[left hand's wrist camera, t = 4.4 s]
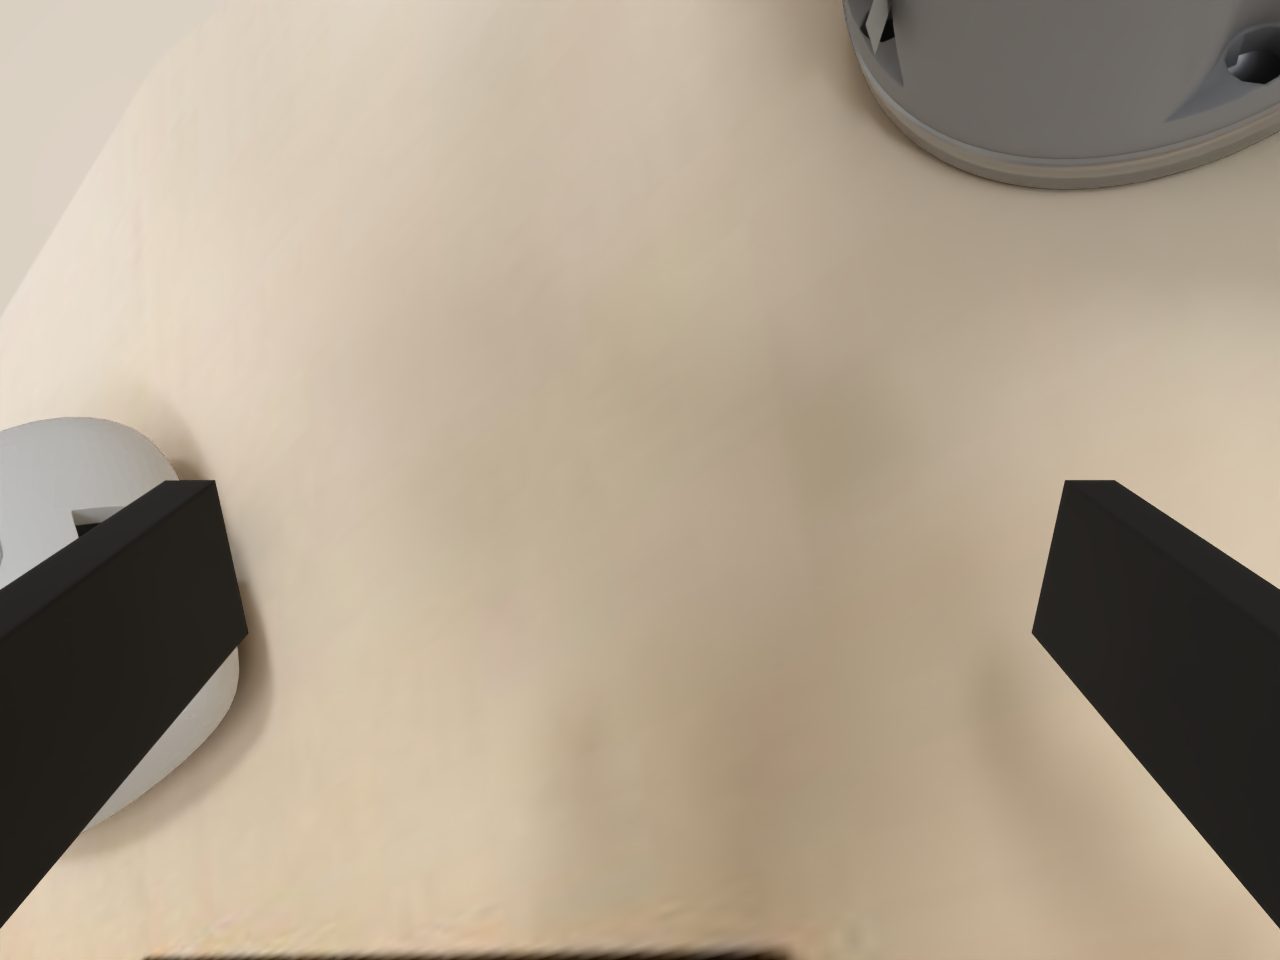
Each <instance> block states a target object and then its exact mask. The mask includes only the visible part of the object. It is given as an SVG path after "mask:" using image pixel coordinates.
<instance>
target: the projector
mask: <svg viewBox="0 0 1280 960" xmlns="http://www.w3.org/2000/svg"><path fill="white" fill-rule="evenodd" d="M165 480H179V478H178V476H177V474H176V472H175V470H174V469H173V467H172V466H171V464H170V463H169V461H168V460H167V458H166V457H165V456H164V454H163V453H162V452H161V451H160V450H159V449H158V447H157V446H156V445H155V444H154V443H153V442H152V441H151V440H149V439H148V438H147V437H146V436H144V435H143V434H141V433H140V432H138V431H136V430H134V429H132V428H130V427H128V426H125V425H123V424H120V423H117V422H113V421H109V420H105V419H98V418H90V417H63V418H55V419H48V420H40V421H35V422H30V423H26V424H23V425H19V426H16V427H12V428H9V429H6V430H3V431H1V432H0V589H2V588H3V587H5V586H6V585H8V584H10V583H11V582H13V581H14V580H16V579H17V578H19V577H20V576H22V575H23V574H25V573H26V572H28V571H29V570H31V569H32V568H34V567H35V566H37V565H38V564H40V563H41V562H43V561H44V560H46V559H47V558H49V557H50V556H52V555H53V554H55V553H56V552H58V551H59V550H61V549H62V548H64V547H65V546H67V545H68V544H70V543H71V542H73V541H74V540H76V539H77V538H79V537H80V536H82V535H83V534H85V533H87V532H88V531H90V530H91V529H93V528H94V527H96V526H97V525H99V524H100V523H102V522H103V521H105V520H106V519H108V518H109V517H111V516H112V515H114V514H115V513H117V512H118V511H120V510H121V509H123V508H124V507H126V506H127V505H129V504H130V503H132V502H133V501H135V500H136V499H138V498H139V497H141V496H142V495H144V494H145V493H147V492H148V491H150V490H151V489H153V488H154V487H156V486H157V485H159V484H161V483H162V482H164V481H165ZM238 679H239V659H238V648H237V647H236V648H235V649H234V651H233V652H232V653H231V654H230V655H229V657H228V658H227V659H226V660H225V661H224V663H223V664H222V665H221V666H220V667H219V669H218V670H217V671H216V672H215V673H214V674H213V676H212V677H211V678H210V679H209V680H208V682H207V683H206V684H205V685H204V686H203V688H202V689H201V690H200V691H199V692H198V694H197V695H196V696H195V697H194V698H193V700H192V701H191V702H190V703H189V704H188V705H187V707H186V708H185V709H184V710H183V711H182V713H181V714H180V715H179V716H178V717H177V719H176V720H175V721H174V722H173V723H172V725H171V726H170V727H169V728H168V729H167V731H166V732H165V733H164V734H163V735H162V736H161V738H160V739H159V740H158V741H157V742H156V744H155V745H154V746H153V747H152V748H151V750H150V751H149V752H148V753H147V754H146V756H145V757H144V758H143V759H142V760H141V762H140V763H139V764H138V765H137V766H136V767H135V769H134V770H133V771H132V772H131V773H130V775H129V776H128V777H127V778H126V779H125V781H124V782H123V783H122V784H121V785H120V787H119V788H118V789H117V790H116V791H115V793H114V794H113V795H112V796H111V797H110V798H109V800H108V801H107V802H106V803H105V804H104V806H103V807H102V808H101V809H100V810H99V812H98V813H97V814H96V815H95V816H94V818H93V819H92V820H91V821H90V822H89V824H88V825H87V826H86V827H85V828H84V829H83V831H82V832H81V833H83V832H85V831H87V830H88V829H90V828H92V827H94V826H96V825H97V824H99V823H101V822H103V821H104V820H106V819H107V818H109V817H111V816H112V815H114V814H116V813H117V812H119V811H120V810H122V809H123V808H124V807H126V806H127V805H129V804H130V803H132V802H133V801H134V800H136V799H137V798H139V797H140V796H141V795H143V794H144V793H145V792H147V791H148V790H149V789H151V788H152V787H153V786H154V785H156V784H157V783H158V782H160V781H161V780H162V779H163V778H165V777H166V776H167V775H168V774H169V773H171V772H172V771H173V770H174V769H175V768H176V767H178V766H179V765H180V764H181V763H182V762H184V761H185V760H186V759H187V758H188V757H189V756H190V755H191V754H192V753H193V752H194V751H195V750H196V749H197V748H198V747H199V746H200V745H201V744H202V743H203V742H204V741H205V740H206V739H207V738H208V737H209V736H210V734H211V733H212V732H213V731H214V730H215V729H216V728H217V726H218V725H219V723H220V722H221V721H222V719H223V718H224V716H225V715H226V713H227V712H228V710H229V708H230V706H231V704H232V701H233V699H234V696H235V693H236V689H237V684H238ZM81 833H80V834H81Z"/></svg>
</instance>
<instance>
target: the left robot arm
mask: <svg viewBox="0 0 1280 960" xmlns="http://www.w3.org/2000/svg"><path fill="white" fill-rule="evenodd" d="M843 7H844V13H845V19H846V23H847V27H848V30H849V34H850V37H851V41H852V44H853V46H854V49H855V52H856V55H857V58H858V61H859V64H860V67H861V70H862V72H863V74H864V77H865V79H866V82H867V84H868V86H869V89H870V90H871V92H872V94H873V95H874V97H875V99H876V101H877V102H878V104H879V106H880V107H881V108H882V109H883V111H884V112H885V113H886V115H887V116H888V117H889V119H890V120H891V121H892V122H893V123H894V124H895V125H896V126H897V127H898V128H899V129H900V130H901V131H902V132H903V133H904V134H905V135H906V136H907V137H908V138H909V139H911V140H912V141H913V142H915V143H916V144H917V145H918V146H920V147H921V148H922V149H924V150H925V151H927V152H929V153H930V154H932V155H933V156H935V157H937V158H938V159H940V160H942V161H944V162H946V163H948V164H950V165H952V166H954V167H957V168H959V169H961V170H963V171H966V172H969V173H972V174H975V175H978V176H981V177H984V178H987V179H991V180H995V181H1000V182H1004V183H1008V184H1014V185H1021V186H1029V187H1036V188H1054V189H1081V188H1100V187H1108V186H1117V185H1125V184H1131V183H1136V182H1141V181H1146V180H1151V179H1156V178H1161V177H1164V176H1168V175H1172V174H1175V173H1179V172H1182V171H1186V170H1189V169H1193V168H1196V167H1198V166H1201V165H1204V164H1207V163H1210V162H1212V161H1215V160H1218V159H1221V158H1223V157H1226V156H1228V155H1231V154H1233V153H1235V152H1237V151H1240V150H1242V149H1244V148H1246V147H1249V146H1251V145H1253V144H1255V143H1258V142H1260V141H1261V140H1263V139H1265V138H1267V137H1269V136H1271V135H1273V134H1275V133H1276V132H1278V131H1280V0H843ZM247 634H248V629H247V625H246V620H245V616H244V611H243V607H242V602H241V597H240V593H239V588H238V584H237V579H236V574H235V570H234V565H233V561H232V556H231V552H230V547H229V542H228V538H227V533H226V529H225V524H224V520H223V515H222V510H221V506H220V501H219V497H218V492H217V487H216V483H215V480H165V481H164V482H162V483H161V484H159V485H157V486H156V487H154V488H153V489H151V490H150V491H148V492H147V493H145V494H144V495H142V496H141V497H139V498H138V499H136V500H135V501H133V502H132V503H130V504H129V505H127V506H126V507H124V508H123V509H121V510H120V511H118V512H117V513H115V514H114V515H112V516H111V517H109V518H108V519H106V520H105V521H103V522H102V523H100V524H99V525H97V526H96V527H94V528H93V529H91V530H90V531H88V532H87V533H85V534H83V535H82V536H80V537H79V538H77V539H76V540H74V541H73V542H71V543H70V544H68V545H67V546H65V547H64V548H62V549H61V550H59V551H58V552H56V553H55V554H53V555H52V556H50V557H49V558H47V559H46V560H44V561H43V562H41V563H40V564H38V565H37V566H35V567H34V568H32V569H31V570H29V571H28V572H26V573H25V574H23V575H22V576H20V577H19V578H17V579H16V580H14V581H13V582H11V583H10V584H8V585H6V586H5V587H3V588H2V589H0V928H1V927H2V926H3V925H4V924H5V922H6V921H7V920H8V919H9V918H10V916H11V915H12V914H13V913H14V912H15V911H16V909H17V908H18V907H19V906H20V905H21V903H22V902H23V901H24V900H25V899H26V897H27V896H28V895H29V894H30V893H31V891H32V890H33V889H34V888H35V887H36V885H37V884H38V883H39V882H40V881H41V880H42V878H43V877H44V876H45V875H46V874H47V872H48V871H49V870H50V869H51V868H52V866H53V865H54V864H55V863H56V862H57V860H58V859H59V858H60V857H61V856H62V854H63V853H64V852H65V851H66V850H67V849H68V847H69V846H70V845H71V844H72V843H73V841H74V840H75V839H76V838H77V837H78V835H79V834H80V833H81V832H82V831H83V829H84V828H85V827H86V826H87V825H88V824H89V822H90V821H91V820H92V819H93V818H94V816H95V815H96V814H97V813H98V812H99V810H100V809H101V808H102V807H103V806H104V804H105V803H106V802H107V801H108V800H109V798H110V797H111V796H112V795H113V794H114V793H115V791H116V790H117V789H118V788H119V787H120V785H121V784H122V783H123V782H124V781H125V779H126V778H127V777H128V776H129V775H130V773H131V772H132V771H133V770H134V769H135V767H136V766H137V765H138V764H139V763H140V762H141V760H142V759H143V758H144V757H145V756H146V754H147V753H148V752H149V751H150V750H151V748H152V747H153V746H154V745H155V744H156V742H157V741H158V740H159V739H160V738H161V736H162V735H163V734H164V733H165V732H166V731H167V729H168V728H169V727H170V726H171V725H172V723H173V722H174V721H175V720H176V719H177V717H178V716H179V715H180V714H181V713H182V711H183V710H184V709H185V708H186V707H187V705H188V704H189V703H190V702H191V701H192V700H193V698H194V697H195V696H196V695H197V694H198V692H199V691H200V690H201V689H202V688H203V686H204V685H205V684H206V683H207V682H208V680H209V679H210V678H211V677H212V676H213V674H214V673H215V672H216V671H217V670H218V669H219V667H220V666H221V665H222V664H223V663H224V661H225V660H226V659H227V658H228V657H229V655H230V654H231V653H232V652H233V651H234V649H235V648H236V647H237V646H238V645H239V643H240V642H241V641H242V640H243V639H244V638H245V636H246V635H247ZM1032 634H1033V635H1034V636H1035V638H1036V639H1037V640H1038V641H1039V642H1040V643H1041V645H1042V646H1043V647H1044V648H1045V649H1046V651H1047V652H1048V653H1049V654H1050V655H1051V657H1052V658H1053V659H1054V660H1055V661H1056V663H1057V664H1058V665H1059V666H1060V667H1061V669H1062V670H1063V671H1064V672H1065V673H1066V674H1067V676H1068V677H1069V678H1070V679H1071V680H1072V682H1073V683H1074V684H1075V685H1076V686H1077V688H1078V689H1079V690H1080V691H1081V692H1082V694H1083V695H1084V696H1085V697H1086V698H1087V700H1088V701H1089V702H1090V703H1091V704H1092V705H1093V707H1094V708H1095V709H1096V710H1097V711H1098V713H1099V714H1100V715H1101V716H1102V717H1103V719H1104V720H1105V721H1106V722H1107V723H1108V725H1109V726H1110V727H1111V728H1112V729H1113V731H1114V732H1115V733H1116V734H1117V735H1118V736H1119V738H1120V739H1121V740H1122V741H1123V742H1124V744H1125V745H1126V746H1127V747H1128V748H1129V750H1130V751H1131V752H1132V753H1133V754H1134V756H1135V757H1136V758H1137V759H1138V760H1139V762H1140V763H1141V764H1142V765H1143V766H1144V767H1145V769H1146V770H1147V771H1148V772H1149V773H1150V775H1151V776H1152V777H1153V778H1154V779H1155V781H1156V782H1157V783H1158V784H1159V785H1160V787H1161V788H1162V789H1163V790H1164V791H1165V793H1166V794H1167V795H1168V796H1169V797H1170V798H1171V800H1172V801H1173V802H1174V803H1175V804H1176V806H1177V807H1178V808H1179V809H1180V810H1181V812H1182V813H1183V814H1184V815H1185V816H1186V818H1187V819H1188V820H1189V821H1190V822H1191V824H1192V825H1193V826H1194V827H1195V828H1196V829H1197V831H1198V832H1199V833H1200V834H1201V835H1202V837H1203V838H1204V839H1205V840H1206V841H1207V843H1208V844H1209V845H1210V846H1211V847H1212V849H1213V850H1214V851H1215V852H1216V853H1217V855H1218V856H1219V857H1220V858H1221V859H1222V860H1223V862H1224V863H1225V864H1226V865H1227V866H1228V868H1229V869H1230V870H1231V871H1232V872H1233V874H1234V875H1235V876H1236V877H1237V878H1238V880H1239V881H1240V882H1241V883H1242V884H1243V886H1244V887H1245V888H1246V889H1247V890H1248V891H1249V893H1250V894H1251V895H1252V896H1253V897H1254V899H1255V900H1256V901H1257V902H1258V903H1259V905H1260V906H1261V907H1262V908H1263V909H1264V911H1265V912H1266V913H1267V914H1268V915H1269V917H1270V918H1271V919H1272V920H1273V921H1274V922H1275V924H1276V925H1277V926H1278V927H1279V928H1280V589H1278V588H1277V587H1275V586H1274V585H1272V584H1270V583H1269V582H1267V581H1266V580H1264V579H1263V578H1261V577H1260V576H1258V575H1257V574H1255V573H1254V572H1252V571H1251V570H1249V569H1248V568H1246V567H1245V566H1243V565H1242V564H1240V563H1239V562H1237V561H1236V560H1234V559H1233V558H1231V557H1230V556H1228V555H1227V554H1225V553H1224V552H1222V551H1221V550H1219V549H1218V548H1216V547H1215V546H1213V545H1212V544H1210V543H1209V542H1207V541H1206V540H1204V539H1203V538H1201V537H1200V536H1198V535H1196V534H1195V533H1193V532H1192V531H1190V530H1189V529H1187V528H1186V527H1184V526H1183V525H1181V524H1180V523H1178V522H1177V521H1175V520H1174V519H1172V518H1171V517H1169V516H1168V515H1166V514H1165V513H1163V512H1162V511H1160V510H1159V509H1157V508H1156V507H1154V506H1153V505H1151V504H1150V503H1148V502H1147V501H1145V500H1144V499H1142V498H1141V497H1139V496H1138V495H1136V494H1135V493H1133V492H1132V491H1130V490H1129V489H1127V488H1126V487H1124V486H1123V485H1121V484H1119V483H1118V482H1116V481H1115V480H1065V483H1064V487H1063V492H1062V497H1061V501H1060V506H1059V510H1058V515H1057V520H1056V524H1055V529H1054V533H1053V538H1052V542H1051V547H1050V552H1049V556H1048V561H1047V565H1046V570H1045V574H1044V579H1043V584H1042V588H1041V593H1040V597H1039V602H1038V607H1037V611H1036V616H1035V620H1034V625H1033V629H1032Z"/></svg>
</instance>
